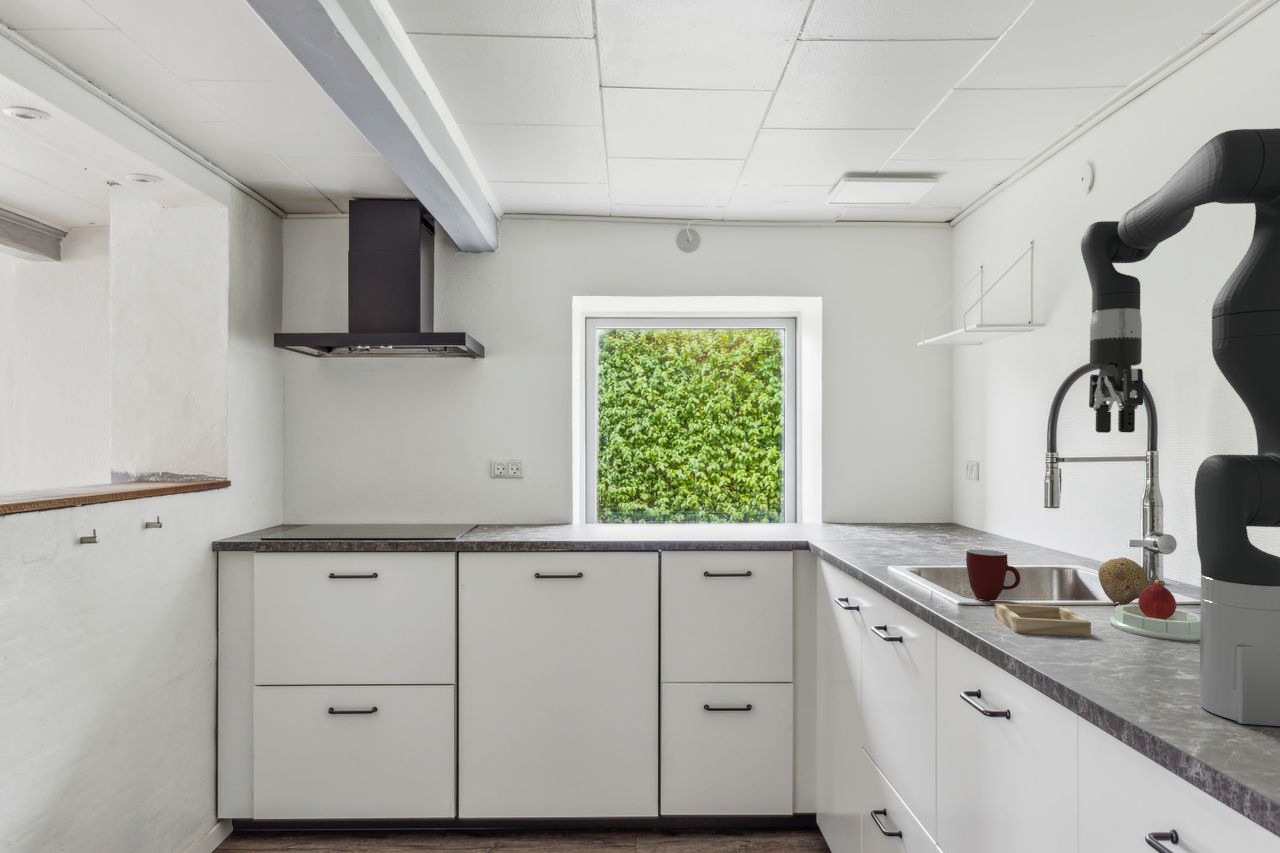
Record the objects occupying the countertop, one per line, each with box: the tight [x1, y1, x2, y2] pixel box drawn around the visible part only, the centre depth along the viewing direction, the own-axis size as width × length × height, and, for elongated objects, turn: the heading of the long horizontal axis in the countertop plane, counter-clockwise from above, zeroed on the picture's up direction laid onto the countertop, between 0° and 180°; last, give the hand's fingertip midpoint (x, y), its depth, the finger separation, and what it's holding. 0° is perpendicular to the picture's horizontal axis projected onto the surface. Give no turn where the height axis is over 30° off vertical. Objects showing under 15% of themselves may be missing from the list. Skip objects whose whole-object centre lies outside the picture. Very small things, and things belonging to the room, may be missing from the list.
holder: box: [994, 602, 1092, 638], centre depth 140 cm, size 12×12×2 cm
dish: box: [1109, 603, 1200, 642], centre depth 139 cm, size 15×15×3 cm
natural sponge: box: [1097, 557, 1151, 605], centre depth 158 cm, size 9×9×10 cm
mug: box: [965, 549, 1021, 602], centre depth 162 cm, size 11×8×10 cm
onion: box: [1137, 579, 1177, 620], centre depth 139 cm, size 6×6×8 cm
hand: (1114, 432), depth 129 cm, fingers open, 8 cm apart
